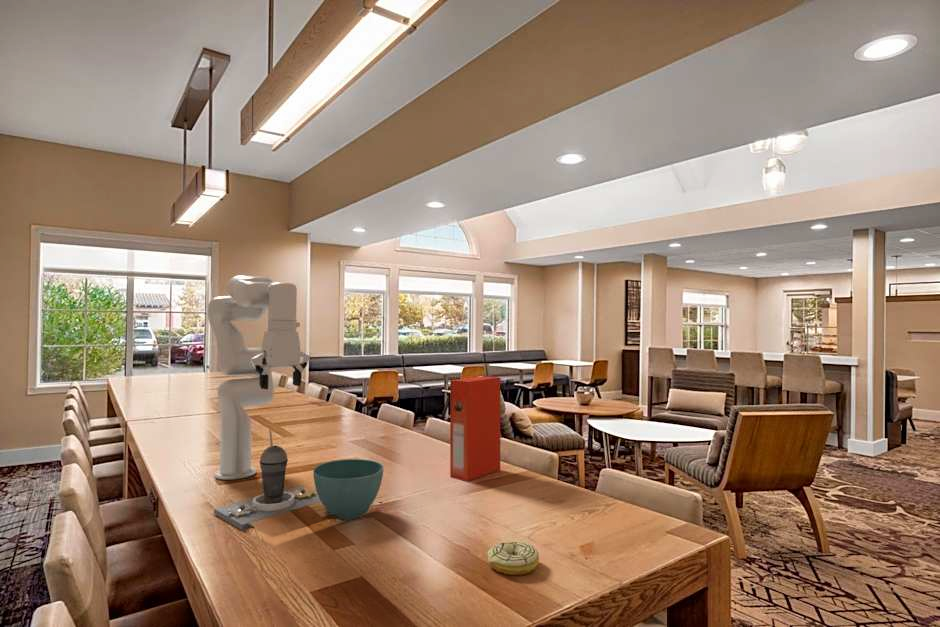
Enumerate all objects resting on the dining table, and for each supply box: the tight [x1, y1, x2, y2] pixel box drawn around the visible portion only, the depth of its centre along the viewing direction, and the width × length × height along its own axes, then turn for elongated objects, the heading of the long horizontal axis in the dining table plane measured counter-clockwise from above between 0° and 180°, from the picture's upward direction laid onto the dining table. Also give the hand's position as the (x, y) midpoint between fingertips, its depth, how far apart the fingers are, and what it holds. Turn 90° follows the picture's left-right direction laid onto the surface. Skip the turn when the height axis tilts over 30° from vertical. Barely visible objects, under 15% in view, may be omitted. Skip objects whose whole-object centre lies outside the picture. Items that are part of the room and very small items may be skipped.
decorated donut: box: [487, 541, 540, 576], centre depth 111 cm, size 10×11×4 cm
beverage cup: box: [259, 429, 289, 504], centre depth 143 cm, size 7×7×20 cm
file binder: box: [449, 375, 501, 482], centre depth 177 cm, size 8×17×32 cm, turn 140°
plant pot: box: [312, 458, 384, 521], centre depth 139 cm, size 18×18×12 cm
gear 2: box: [291, 488, 317, 500], centre depth 149 cm, size 7×7×2 cm
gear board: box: [213, 486, 322, 532], centre depth 142 cm, size 16×25×3 cm, turn 139°
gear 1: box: [227, 505, 256, 518], centre depth 136 cm, size 7×7×2 cm
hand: (280, 387), depth 147 cm, fingers open, 9 cm apart
